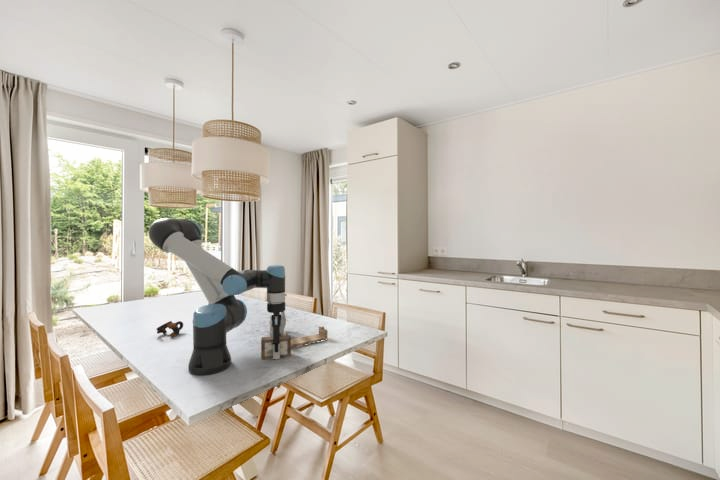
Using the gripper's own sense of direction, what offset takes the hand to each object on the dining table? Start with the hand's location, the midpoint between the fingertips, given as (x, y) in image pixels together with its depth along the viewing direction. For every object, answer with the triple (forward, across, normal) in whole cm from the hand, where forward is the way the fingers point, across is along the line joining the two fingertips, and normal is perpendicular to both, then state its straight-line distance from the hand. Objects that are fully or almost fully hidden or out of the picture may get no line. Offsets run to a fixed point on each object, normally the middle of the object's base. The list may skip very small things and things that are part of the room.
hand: (276, 355), depth 132 cm
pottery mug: (0, +40, +53) cm, 66 cm away
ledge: (0, +13, -13) cm, 19 cm away
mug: (0, +30, -1) cm, 30 cm away
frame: (0, 0, 0) cm, 0 cm away
